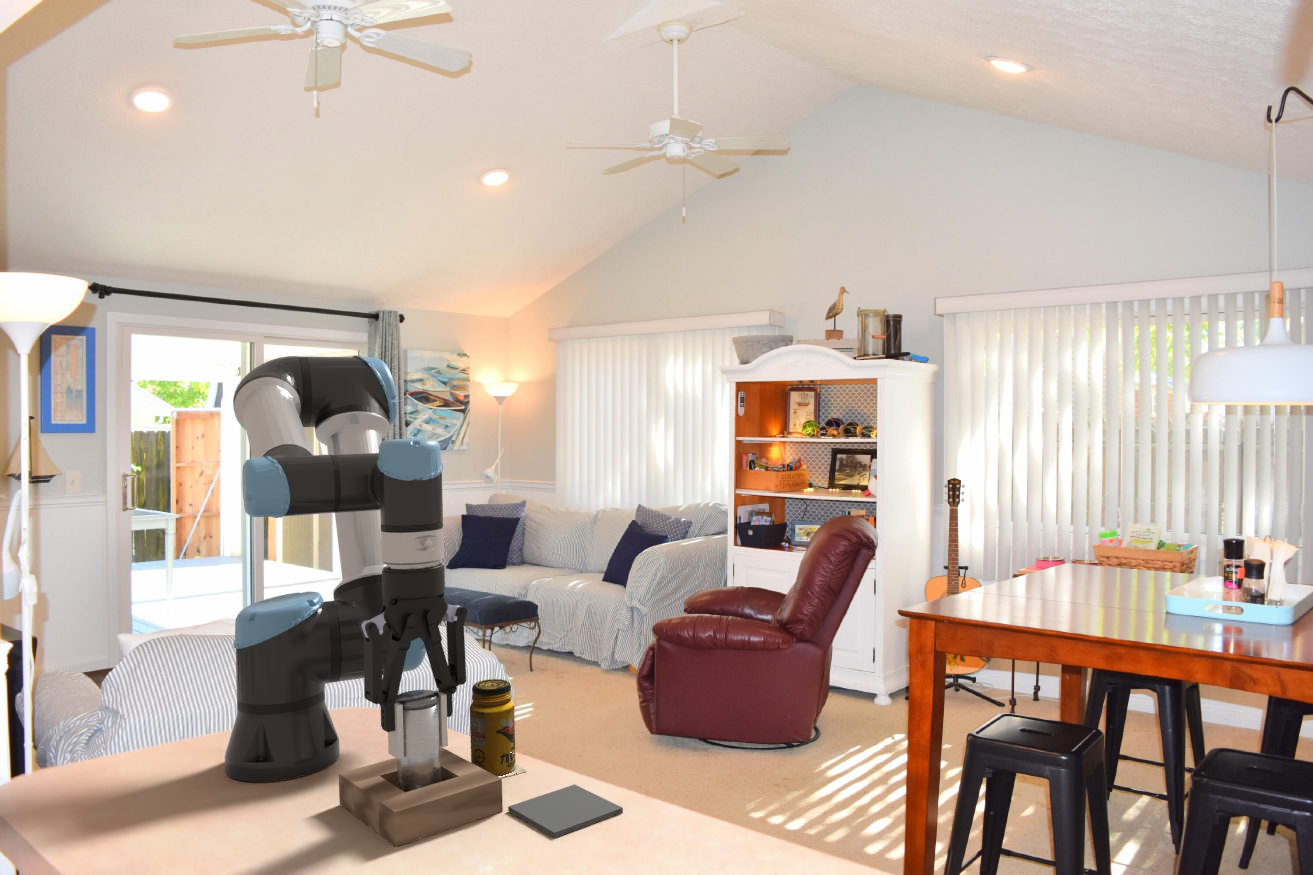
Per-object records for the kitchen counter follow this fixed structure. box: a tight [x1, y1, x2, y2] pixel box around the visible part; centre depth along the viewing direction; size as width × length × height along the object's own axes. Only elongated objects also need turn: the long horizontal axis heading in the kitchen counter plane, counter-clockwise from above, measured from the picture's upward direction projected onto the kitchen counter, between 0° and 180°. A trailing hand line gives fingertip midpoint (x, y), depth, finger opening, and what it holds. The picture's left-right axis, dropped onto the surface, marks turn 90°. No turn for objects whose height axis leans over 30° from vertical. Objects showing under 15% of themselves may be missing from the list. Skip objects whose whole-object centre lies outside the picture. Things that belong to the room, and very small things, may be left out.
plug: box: [396, 689, 441, 792], centre depth 118 cm, size 5×5×14 cm
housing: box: [338, 746, 504, 848], centre depth 118 cm, size 16×14×4 cm
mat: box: [507, 784, 624, 839], centre depth 116 cm, size 10×10×1 cm
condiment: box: [469, 678, 527, 777], centre depth 130 cm, size 7×8×12 cm
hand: (418, 749), depth 118 cm, fingers closed on plug, 5 cm apart
